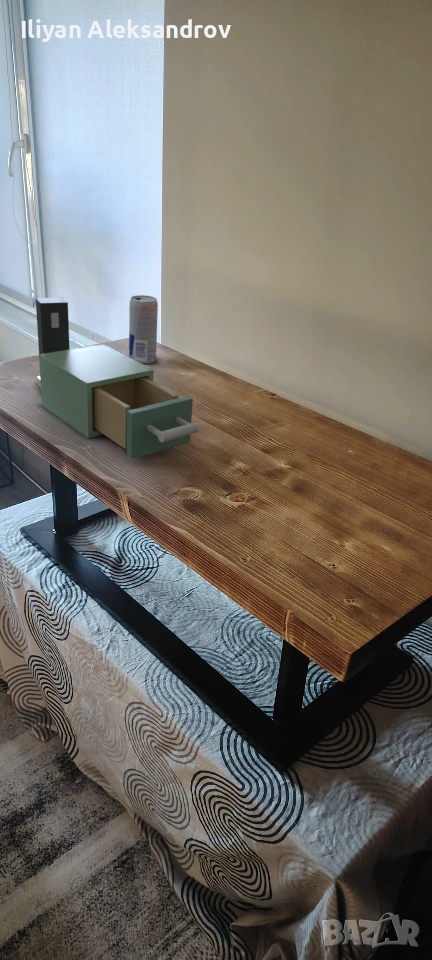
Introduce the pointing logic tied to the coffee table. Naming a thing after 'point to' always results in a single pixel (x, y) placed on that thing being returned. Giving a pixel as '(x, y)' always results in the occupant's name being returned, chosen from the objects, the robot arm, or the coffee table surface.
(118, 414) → the drawer
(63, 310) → the black post
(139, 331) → the energy drink
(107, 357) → the cabinet
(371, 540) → the coffee table surface
